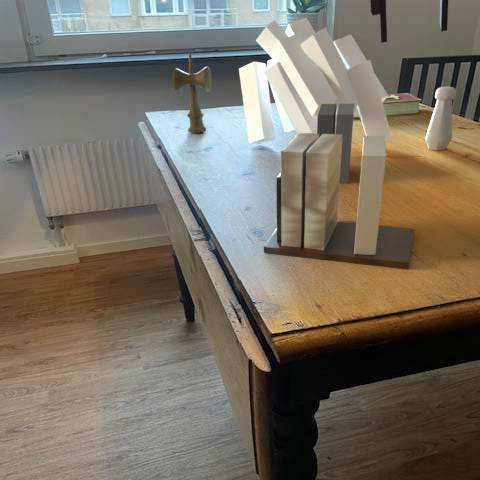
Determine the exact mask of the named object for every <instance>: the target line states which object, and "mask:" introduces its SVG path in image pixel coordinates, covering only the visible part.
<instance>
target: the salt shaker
mask: <svg viewBox="0 0 480 480" xmlns="http://www.w3.org/2000/svg"><path fill="white" fill-rule="evenodd" d="M456 95H457V89H456V88H455V87H452V86H440V87H438V88H437V89H436V90H435V94H434V98H435V99H436V103H435V106H434V109H433V112H432V115H431V118H430V121H429V123H428V124H429V125H428V128H427V131H426V134H425V142H426V147H427V149H428V150H431V151H436V152H437V151H445V150H446V149H447V147H448V146H449V145H450V143H451V141H452V140H453V100H454V99H456Z"/></svg>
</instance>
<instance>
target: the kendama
mask: <svg viewBox="0 0 480 480" xmlns="http://www.w3.org/2000/svg"><path fill="white" fill-rule="evenodd" d="M188 69H189V73H187V72H185V71H183V70H181V69H180V68H176V67H175V68H174V69H173V73H172V82H173V88H174V89H175V91H176V92H180V91H182V90H183V89H184V88H186V87H188V86H190V87H189V88H190V101H189V102H190V104H189V112H188V113H187V115H186V116H187V117H188V119H189V127H188V129H187V132H188V133H190V132H191V133H190V134H201V133H200V132H202V133H204V132H206V131H207V127H206V126H205V124H204V121H203V117H204V115H205V113H204V112H203V111H202V109H201V107H200V102H199V98H198V93H197V87H196V86H198V87H200V88H202V89H203V90H204V91H206V92H210V91H211V89H212V73H211V72H212V71H211V69H210V67H209V66H205V67H203V68H202V69H201V70H200V71H198V72H196V73H194V65H193V58H192V53H191V52H189V53H188Z"/></svg>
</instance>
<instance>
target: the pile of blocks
mask: <svg viewBox="0 0 480 480" xmlns="http://www.w3.org/2000/svg"><path fill="white" fill-rule="evenodd" d="M255 42H256V43H257V44H258V45H259V46H260V48H262V49H263V50H264V51H265V53H267V55H268V56H269V57H270V58H271V59H268V60H267V63H265V62H260V61H251V62H250V63H247V64H245V65H243V66H242V67H239V68H238V73H239V82H240V88H241V95H242V96H241V97H242V103H243V110H244V111H243V112H244V118H245V125H246V132H247V139H248V144H255V145H257V144H258V145H260V144H263V143H268V142H270V141H273V140H276V135H275V129H274V119H273V112H272V105H271V96H270V89H271V93H272V96H273V99H274V102H275V105H276V108H277V109H276V110H277V111H278V115H279V117H280V121H281V124H282V127H283V128H282V129H283V131H284V133H285V132H287V133H290V132H294V131H295V133H296V136H297V135H298V134H299V133H313V134H314V132H315V131H317V119H318V113H319V110H320V107H321V105H322V104H337V107H336V117H337V111H338V107H339V104H354V107H355V106H357V109H358V112H359V115H360V119H359V120H360V121H361V125H362V129H363V132H364V136H385V142H386V141H388V140H391V139H393V136H392V132H391V129H390V125H389V121H388V117H386V114H385V110H384V106H383V101H384V100H385V99H386V97H387V96H388V94H389V93H387V91H386V89H385V88H384V86H383V84H382V82H380V80H379V78H378V76H377V74H376V73H375V71H374V68H373V64H372V61H371V59H368V60H367V58H366V57H365V54H364V53H363V52H362V50H361V48H360V46H359V45H358V43H357V42H356V40H355V39H354V37H353V35H352V34H348V35H345V36H342V37H340V38H338V39H335V40H333V39H332V37H331V35H330V34H329V31H328V29H327V27H326V26H325V27H323V28H321V29H320V30H318V31H317V32H316V31H315V29H314V27H313V26H312V24H311V22H310V21H309V20H308V18H307V17H304V18H301V19H298V20H296V21H293V22H290V23H288V25H287V27H286V29H285V30H284V29H283V28H282V27H281V26H280V25H279V23H278V22H276V21H275V20H272V21H271V22H270V23H269V24H267V25H266V26H265V27H264V28H263V30H262V31H261V32H260V34H259V35H258V37H257V38H256V39H255ZM269 87H270V89H269ZM335 129H336V126H335Z"/></svg>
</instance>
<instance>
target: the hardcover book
mask: <svg viewBox="0 0 480 480" xmlns="http://www.w3.org/2000/svg"><path fill="white" fill-rule="evenodd" d="M387 94H388V96H387V97H386V99H385V100H384V101H383V106H384V110H385V114H386V117H387V118H389V117H402V116H403V117H404V116H419V115H421V113H420V112H419V110H420V109H419V108H420V102H422V101H423V100H422V99H421V98H419V97H417V96H414V95H413V94H410V93H408V92H400V93H387ZM353 120H361V119H360V115H359V112H358V109H357V106H355V107H354V116H353Z"/></svg>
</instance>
